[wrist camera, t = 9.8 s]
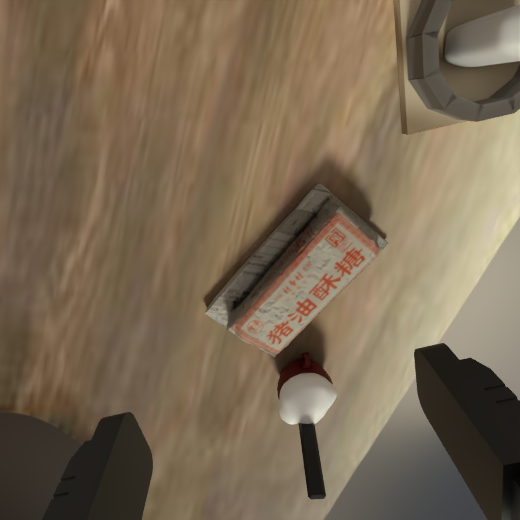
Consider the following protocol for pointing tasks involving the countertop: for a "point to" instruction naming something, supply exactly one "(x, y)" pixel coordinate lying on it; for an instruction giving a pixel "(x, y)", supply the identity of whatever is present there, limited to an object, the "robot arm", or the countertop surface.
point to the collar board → (448, 67)
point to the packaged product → (296, 272)
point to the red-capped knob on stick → (306, 412)
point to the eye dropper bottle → (485, 40)
